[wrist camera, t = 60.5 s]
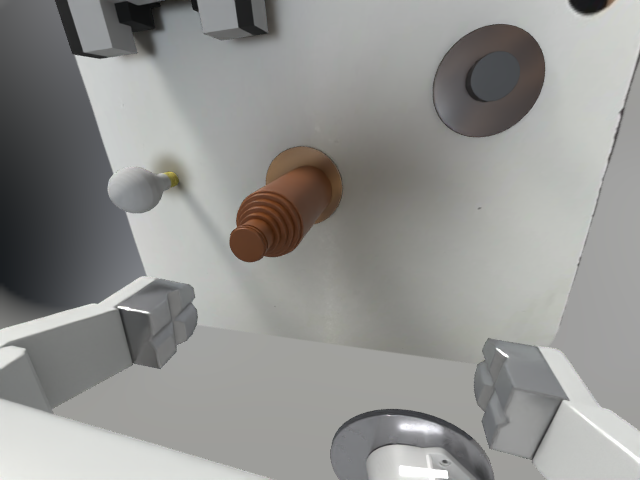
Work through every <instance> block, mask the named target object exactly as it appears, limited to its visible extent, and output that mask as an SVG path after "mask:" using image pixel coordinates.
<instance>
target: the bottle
mask: <svg viewBox="0 0 640 480" xmlns="http://www.w3.org/2000/svg"><path fill="white" fill-rule="evenodd" d="M331 196H332V187H331V183H330V181H329V179H328V177H327V176H326V174H325V173H324V172H323V171H321V170H320V169H318V168H316V167H313V166H308V165H306V166H300V167H297V168H295V169H293V170H292V171H290V172H288V173H287V174H285V175H283V176H281V177H280V178H278V179H276V180H274V181H273V182H271V183H269V184H267V185H266V186H264V187H262V188H260V189H259V190H257V191H255V192H254V193H252V194H250V195H249V196H247V197H246V198H245V199H244V201H243V202H242V204H241V206H240V208H239V210H238V213H237V219H236V223H237V228H236V229H234V230H233V231H232V232H231V234H230V235H231V236H230V248H231V250H232V252H233V253H234V255H235V256H236V257H237V258H239V259H240V260H242V261H245V262H255V261H258V260H260V259H261V258H263V256H266V257H278V256H282V255H285V254H288V253H290V252H291V251H293V250H294V249H295V248H296V247H297V246H298V245H299V243H300V242H301V241H302V239H303V238H304V236H305V235H306V234H307V232H308V231H309V230H310V228H311V227H312V226H313V224H314V223H315V221H316V220H317V219H318V217H319V216H320V215H321V213H322V212H323V211H324V209H325V208H326V207H327V205H328V204H329V202H330V200H331Z"/></svg>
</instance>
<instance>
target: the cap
mask: <svg viewBox="0 0 640 480" xmlns="http://www.w3.org/2000/svg"><path fill="white" fill-rule="evenodd" d="M519 76H520V66H519V63H518V61H517V59H516V58H515V57H514V56H513V55H512V54H510V53H508V52H504V51H497V52H493V53H489V54H487V55H486V56H485V57H483V58H481V59H479V60H477V61H476V63H475V64H474V65H473V66H472V67H471V68H470V70H469V72H468V74H467V77H466V89H467V92H468V93H469V95H470V96H471V97H472V98H473V99H474V100H477V101H481V102H488V101H497V100H499V99H501V98H503V97H505V96H506V95H508V94H509V93H510V92H511V91H512V90H513V89H514V87H515V86H516V84H517V82H518V79H519Z"/></svg>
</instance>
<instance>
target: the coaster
mask: <svg viewBox="0 0 640 480" xmlns="http://www.w3.org/2000/svg"><path fill="white" fill-rule="evenodd" d="M306 165H308V166H313V167H316V168H318V169H320V170H321V171H323V172H324V173H325V174H326V176H327V177H328V179H329V181H330V183H331V187H332V196H331V200H330V202H329V204H328V205H327V207H326V208H325V209H324V211H323V212H322V213H321V215H320V216H319V217H318V219H317V220H316V221H315V223H314V224H317V223H320V222H322V221H324V220H326V219H327V218H328V217H330V216H331V215H332V214H333V212H334V211H335V210H336V208H337V207H338V205H339V203H340V200H341V196H342V179H341V175H340V173H339V170H338V169H337V167H336V165H335V164H334V162H333V161H332V160H331V159H330V158H329V157H328V156H327V155H326V154H324V153H323V152H321V151H319V150H317V149H314V148H311V147H305V146H299V147H293V148H290V149H287V150H285V151H283V152H282V153H280V154H279V155H278V156H277V157H276V158H275V159H274V160H273V161H272V163H271V165H270V167H269V169H268V172H267V176H266V185H267V184H269V183H271V182H273V181H274V180H276V179H278V178H280V177H281V176H283V175H285V174H287V173H288V172H290V171H292V170H293V169H295V168H297V167H300V166H306Z"/></svg>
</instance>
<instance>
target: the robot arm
mask: <svg viewBox="0 0 640 480" xmlns="http://www.w3.org/2000/svg"><path fill="white" fill-rule="evenodd" d="M194 298H195V294H194V288H193V287H192V286H191V285H189V284H184V283H179V282H175V281H170V280H165V279H159V278H154V277H149V276H145V277H140V278H138V279H136V280H135V281H134V282H132V283H130V284H129V285H127V286H125V287H124V288H122V289H121V290H119V291H118V292H116V293H114V294H113V295H112V296H110V297H108V298H107V299H105V300H103V301H102V302H100V303H99V304H89V305H85V306H82V307H78V308H75V309H72V310H68V311H64V312H61V313H57V314H54V315H50V316H46V317H43V318H40V319H36V320H32V321H29V322H25V323H22V324H18V325H14V326H11V327H8V328H4V329H0V480H275V479H271V478H268V477H265V476H261V475H257V474H254V473H251V472H248V471H245V470H241V469H238V468H234V467H231V466H227V465H224V464H221V463H218V462H214V461H211V460H207V459H204V458H201V457H197V456H194V455H191V454H187V453H184V452H180V451H177V450H174V449H170V448H167V447H163V446H160V445H157V444H153V443H150V442H147V441H143V440H140V439H137V438H133V437H130V436H126V435H123V434H120V433H116V432H113V431H110V430H106V429H103V428H99V427H96V426H92V425H89V424H86V423H83V422H79V421H76V420H72V419H69V418H66V417H62V416H59V415H55V414H54V413H53V411H52V409H53V408H55V407H57V406H58V405H60V404H62V403H64V402H65V401H68V400H69V399H71V398H73V397H75V396H77V395H78V394H80V393H82V392H84V391H86V390H88V389H90V388H91V387H93V386H95V385H97V384H99V383H100V382H102V381H104V380H106V379H108V378H110V377H112V376H113V375H115V374H117V373H119V372H121V371H122V370H124V369H126V368H128V367H130V366H132V365H133V363H134V364H139V365H143V366H148V367H154V368H158V369H161V368H162V367H163V366H164V365H165V364H166V363H167V361H168V360H169V359H170V358H171V357H172V356H173V355H174V354H175V353H176V350H177V345H178V344H181V343H183V342H185V341H187V340H188V338H189V337H190V336H191V335H192V334H193V332H194V330H195V327H196V325H197V319H198V315H197V309H196V308H195V307H194V305H193V304H192V301H193V300H194ZM482 352H483V355H484V358H485V360H484V361H483V362H481V363H479V364H478V365H477V369H476V372H475V378H474V391H475V397H476V401H477V404H478V406H479V407H480V408H481V409H482V410H483V411H484V412H485V413H484V416H483V419H482V423H483V427H484V431H485V435H486V438H487V442H488V445H489V448H490V449H493V450H497V451H500V452H504V453H508V454H512V455H515V456H519V457H523V458H526V459H530V460H532V463H533V464H534V466H535V467H536V468H537V469H538V470H539V472H540V473H541V474H542V475H543V477H544V478H545V479H546V480H640V431H639V430H638V429H636V428H635V427H633V426H632V425H631V424H629V423H628V422H626V421H625V420H624V419H622V418H621V417H620V416H618V415H617V414H615V413H614V412H612V411H611V410H610V409H605V408H601V407H600V405H599V404H598V402H597V401H596V400H595V398H594V397H593V395H592V394H591V392H590V391H589V389H588V388H587V386H586V385H585V384H584V382H583V381H582V379H581V378H580V377H579V375H578V373H577V372H576V371H575V369H574V368H573V366H572V365H571V363H570V362H569V361H568V359H567V358H566V356H565V355H564V354H563V352H561V351H560V350H558V349H555V348H548V347H542V346H535V345H534V346H531V345H525V344H519V343H513V342H508V341H502V340H496V339H490V338H488V339H487V341H486V342H485V344H484V347H483V350H482ZM366 468H367V473H368V480H477V479H476V478H475V477H474V476H473V475H472V474H471V473H470V472H469V471H468V470H467V469H466V468H464V467H463V466H462V465H461V464H460V463H459V462H458V461H457V460H456V459H455V458H454V457H453V456H452V455H451V454H450V453H449V452H448V451H446V450H445V449H443V448H440V447H429V448H421V447H415V446H410V445H400V444H396V445H387V446H383V447H380V448H378V449H376V450H375V451H373V452H372V453H371V454H370V455H369V457H368V458H367V461H366Z"/></svg>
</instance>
